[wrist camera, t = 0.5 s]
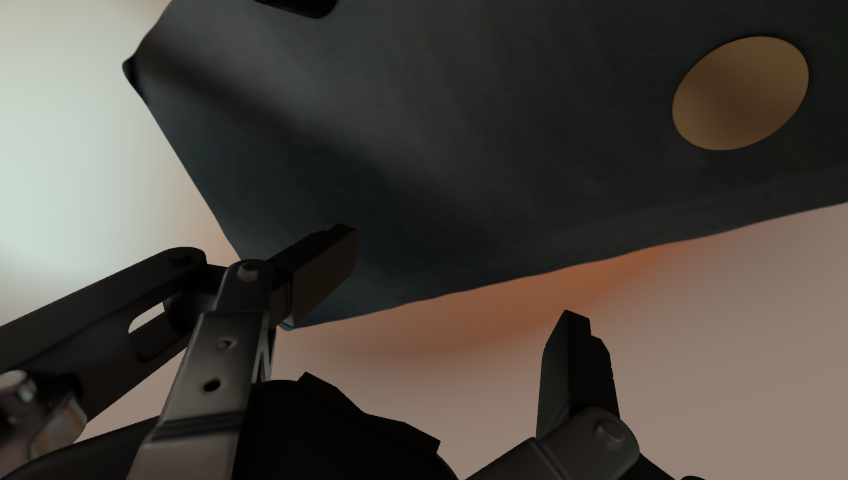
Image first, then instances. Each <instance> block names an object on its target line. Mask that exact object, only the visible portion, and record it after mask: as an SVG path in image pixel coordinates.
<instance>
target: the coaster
mask: <svg viewBox="0 0 848 480" xmlns="http://www.w3.org/2000/svg"><path fill="white" fill-rule="evenodd" d="M808 79H809V75H808V67H807V63H806V61H805V59H804V57H803V55H802V54H801V53H800V51H799V50H798V49H796V48H795V47H794V46H793V45H791V44H789V43H788V42H786V41H783V40H781V39H777V38H772V37H750V38H744V39H740V40H736V41H733V42H730V43H727V44H725V45H722V46H720V47H718V48H716V49H715V50H713V51H711V52H710V53H708V54H707V55H705V56H704V57H703V58H701V59H700V60H699V61H698V62H697V63H695V64H694V65H693V66H692V67H691V69H690V70H689V71H688V72H687V73H686V74H685V76H684V77H683V79H682V80H681V82H680V84H679V85H678V87H677V90H676V92H675V95H674V98H673V104H672V116H673V121H674V124H675V126H676V128H677V130H678V132H679V133H680V134H681V135H682V136H683V137H684V138H685V139H686V140H688V141H689V142H691V143H692V144H695V145H697V146H699V147H702V148H706V149H712V150H729V149H736V148H740V147H744V146H747V145H750V144H753V143H755V142H757V141H759V140H762V139H764V138H765V137H767V136H769V135H770V134H772V133H773V132H775V131H776V130H777V129H779V128H780V127H781V126H782V125H783V124H785V123H786V122H787V121H788V120H789V119H790V118H791V116H792V115H793V114H794V113H795V111H796V110H797V109H798V107H799V105H800V104H801V102H802V100H803V98H804V96H805V93H806V90H807V86H808Z"/></svg>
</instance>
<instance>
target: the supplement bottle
mask: <svg viewBox="0 0 848 480" xmlns="http://www.w3.org/2000/svg"><path fill="white" fill-rule="evenodd" d="M254 1H256V2H259V3H261V4H264V5H267V6H271V7H274V8H277V9H281V10H284V11H288V12H291V13H294V14H298V15H301V16H304V17H308V18H313V19H319V18H322V17H325V16H326V15H327V14H329V13H330V12H331V10H332V9H333V8H334V6H335V4H336V1H337V0H254Z"/></svg>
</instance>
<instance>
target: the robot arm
mask: <svg viewBox="0 0 848 480" xmlns="http://www.w3.org/2000/svg"><path fill="white" fill-rule="evenodd" d="M358 241H359V231H358V230H357V229H355V228H352V227H350V226H347V225H344V224H342V223H339V224H337V225H335V226H334V227H332V228H331V229H329V230H328V231H325V230H322V231H318V232H315V233H311V234H309V235H308V236H306V237H304V238H303V239H302V240H299V241H298V242H296V243H294V245H291V246H289V247H288V248H286V249H284V250H283V251H281V252H279V253H278V254H276V255H274V256H273V257H271V258H269V259H268V260H266V261H264V260H260V259H246V260H241V261H238V262H236V263H234V264H232V265H230V266H229V267H223V266H216V265H211V264H207V261H206V255H205V253H204V252H203V251H202V250H200V249H197V248H194V247H176V248H171V249H168V250H165V251H162V252H160V253H158V254H156V255H154V256H151V257H149V258H147V259H145V260H143V261H141V262H139V263H136V264H134V265H132V266H130V267H128V268H126V269H124V270H121V271H119V272H117V273H115V274H113V275H110V276H109V277H106V278H104V279H102V280H100V281H98V282H95V283H93V284H91V285H89V286H87V287H85V288H82V289H80V290H78V291H76V292H74V293H72V294H70V295H67V296H65V297H63V298H61V299H59V300H57V301H54V302H52V303H51V304H48V305H46V306H44V307H41V308H39V309H37V310H35V311H33V312H31V313H29V314H26V315H24V316H22V317H20V318H18V319H16V320H14V321H11V322H9V323H7V324H5V325H3V326H0V480H458V478H457V477H456V475H455V473H454V472H453V471H452V469H451V468H450V467H449V465H448V464H447V463H446V462H445V461H444V460H443V459H442V458H441V457H440V456H439V455H438V454H437V450H438V447H439V445H440V442H441V441H440V440H438V439H436V438H434V437H432V436H430V435H428V434H426V433H424V432H422V431H420V430H418V429H417V428H415V427H412V426H411V425H409V424H407V423H405V422H401V421H396V420H391V419H387V418H383V417H378V416H374V415H369V414H366V413H364V412H363V411H361V410H360V409H359V408H358V407H357V406H356V405H355V404H354V403H353V402H352V401H351V400H350V399H348V398H347V397H346V396H345V395H344V394H343V393H342V392H341V391H340V390H339V389H338V388H337V387H335V386H333V385H331V384H329V383H327V382H325V381H323V380H321V379H319V378H317V377H316V376H314V375H312V374H309V373H308V372H305V373H304V374H303V375H302V376H301V377H300V378H299V380H298V381H292V380H271V371H272V363H273V356H274V347H275V340H276V326H277V325H279V324H280V323H281V322H284V323H286V324H288V325H291V326H293V327H294V326H295V325H296V324H298V323H299V322H300V321H301V320H302V319H303V318H304V317H305V316H306V315H308V314H309V313H310V312H311V311H312V310H313V309H314V308H315V307H316V306H317V305H319V304H320V303H321V302H322V301H323V300H324V299H325V298H326V297H327V296H328V295H330V294H331V293H332V292H333V291H334V290H335V289H336V288H337V287H338V286H339V285H341V284H342V283H343V282H344V281H345V280H346V279H347V278H348V277H349V276H350V275H351V274H352V272H353V270H354V268H355V265H356V259H357V250H358ZM161 302H163V306H164V310H165V312H163V313H161V314H160V315H158V316H157V317H155V318H153V319H152V320H150V321H149V322H147V323H145V324H144V325H142V326H141V327H139V328H137V329H136V330H134V331H133V332H131V333H129V332H128V330H129V326H130V324H131V323H132V321H133V320H134V319H135V318H136V317H138V316H139V315H141V314H142V313H144V312H146V311H147V310H149V309H151V308H152V307H154V306H155V305H157V304H159V303H161ZM186 347H187V349H186V351H185V354H184V357H183V359H182V362H181V364H180V367H179V369H178V372H177V374H176V377H175V379H174V382H173V384H172V387H171V389H170V392H169V395H168V397H167V399H166V402H165V405H164V407H163V410H162V412H161V415H159V416H156V417H153V418H150V419H147V420H144V421H141V422H138V423H135V424H132V425H129V426H126V427H123V428H120V429H117V430H114V431H111V432H108V433H105V434H102V435H99V436H95V437H92V438H89V439H86V440H84V441H81V442H77V443H75V444H73V442H74V441H76V439H77V438H78V437H79V436H80V435H81V433H82V432H83V430H84V428H85V426H86V424H87V423H88V422H89V421H90V420H92V419H93V418H94V417H96V416H97V415H99V414H100V413H101V412H103V411H104V410H105V409H106V408H108V407H109V406H110V405H112V404H113V403H114V402H116V401H117V400H118V399H120V398H121V397H122V396H123V395H125V394H126V393H127V392H129V391H130V390H131V389H133V388H134V387H135V386H137V385H138V384H139V383H140V382H142V381H143V380H144V379H146V378H147V377H148V376H150V375H151V374H152V373H154V372H155V371H156V370H157V369H159V368H160V367H161V366H162V365H164V364H165V363H167V362H168V361H169V360H170V359H171V358H173V357H174V356H176V355H177V354H178V353H180V352H181V351H182V350H184V349H185V348H186ZM466 480H675V479H674V478H672V477H671V476H670V475H668V474H667V473H666V472H664V471H663V470H661V469H660V468H659V467H657V466H656V465H655V464H653V463H652V462H651V461H649V460H648V459H647V458H646V457H644V456H643V455H642V454H641V453H640V450H639V445H638V442H637V440H636V438H635V436H634V434H633V433H632V431H631V430H630V429H629V428H628V426H627V425H626V424H625V423H624V422H623V421H622V420H621V419H620V414H619V408H618V402H617V396H616V390H615V384H614V379H613V372H612V368H611V361H610V354H609V352H608V350H607V348H606V347H605V345H604V343H603V342H602V340H601V339H600V338H597V337H594V336H592V335H591V329H590V321H589V318H587V317H584V316H582V315H579V314H576V313H574V312H571V311H568V310H565V311H564V312H563V313H562V315H561V317H560V319H559V321H558V323H557V324H556V326H555V328H554V330H553V332H552V334H551V335H550V337H549V339H548V341H547V343H546V346H545V348H544V352H543V356H542V366H541V378H540V391H539V403H538V415H537V427H536V438H535V437H531V438H529V439H527V440H525V441H523V442H522V443H520V444H519V445H517V446H516V447H514V448H513V449H511V450H510V451H508V452H507V453H505V454H504V455H502V456H501V457H499V458H498V459H496V460H495V461H493V462H491V463H490V464H488V465H487V466H485V467H484V468H482V469H481V470H479V471H478V472H476V473H475V474H473V475H472V476H470V477H468V478H467V479H466ZM681 480H705V479H702V478H700V477H696V476H685V477H683V478H682V479H681Z"/></svg>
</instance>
